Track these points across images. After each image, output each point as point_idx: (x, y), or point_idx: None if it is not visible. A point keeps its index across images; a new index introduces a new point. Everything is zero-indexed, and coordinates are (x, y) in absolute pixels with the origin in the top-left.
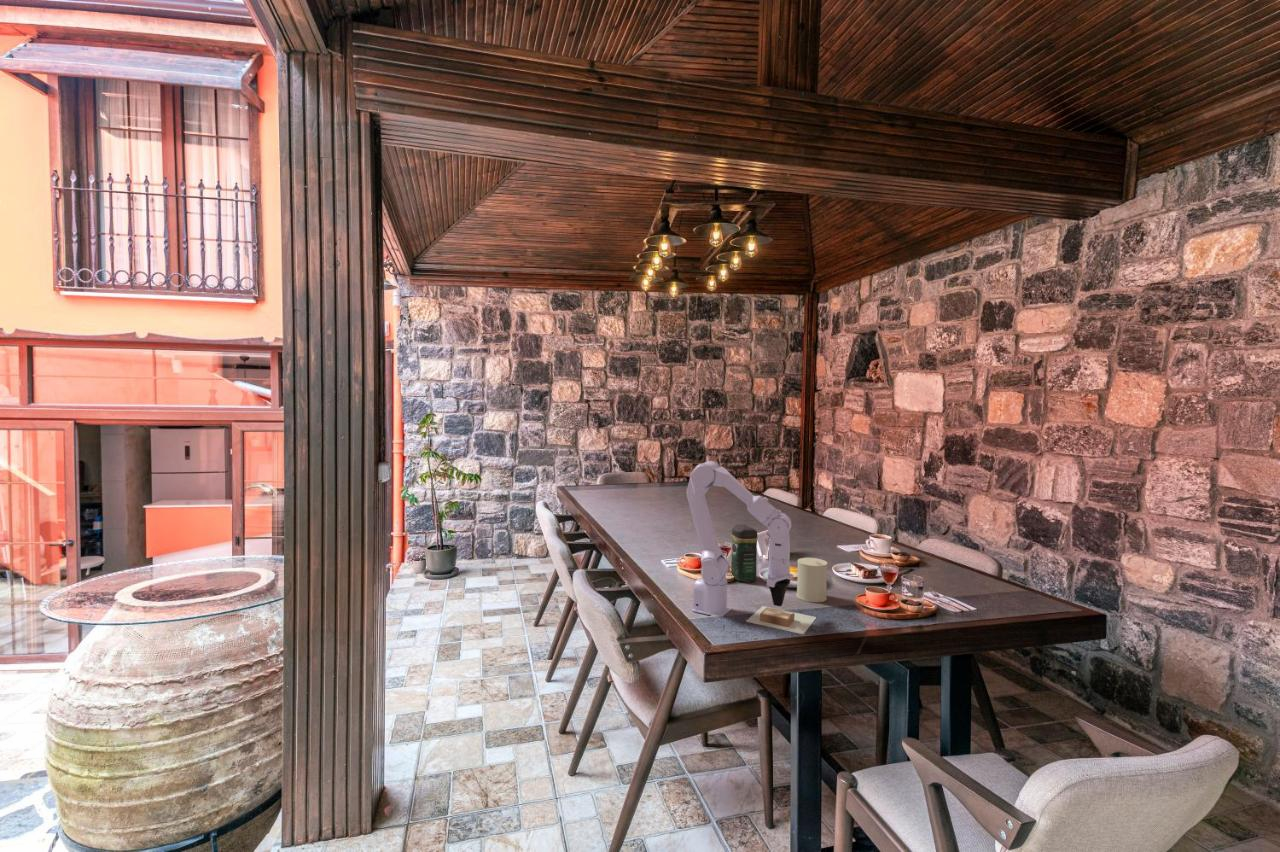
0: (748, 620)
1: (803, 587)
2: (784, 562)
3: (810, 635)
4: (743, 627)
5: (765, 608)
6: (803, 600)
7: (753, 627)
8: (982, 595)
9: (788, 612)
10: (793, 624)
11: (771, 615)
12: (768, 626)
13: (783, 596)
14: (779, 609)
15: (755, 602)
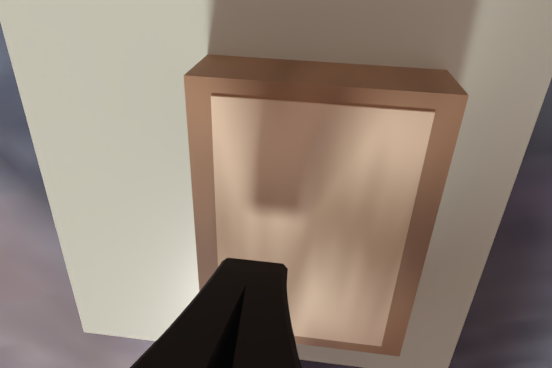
0: (419, 366)
1: None
2: None
3: None
4: (524, 364)
5: (114, 310)
6: None
7: (501, 314)
8: None
9: (219, 143)
10: (343, 32)
11: (397, 274)
12: (494, 233)
13: (217, 350)
14: (56, 225)
15: (35, 363)
